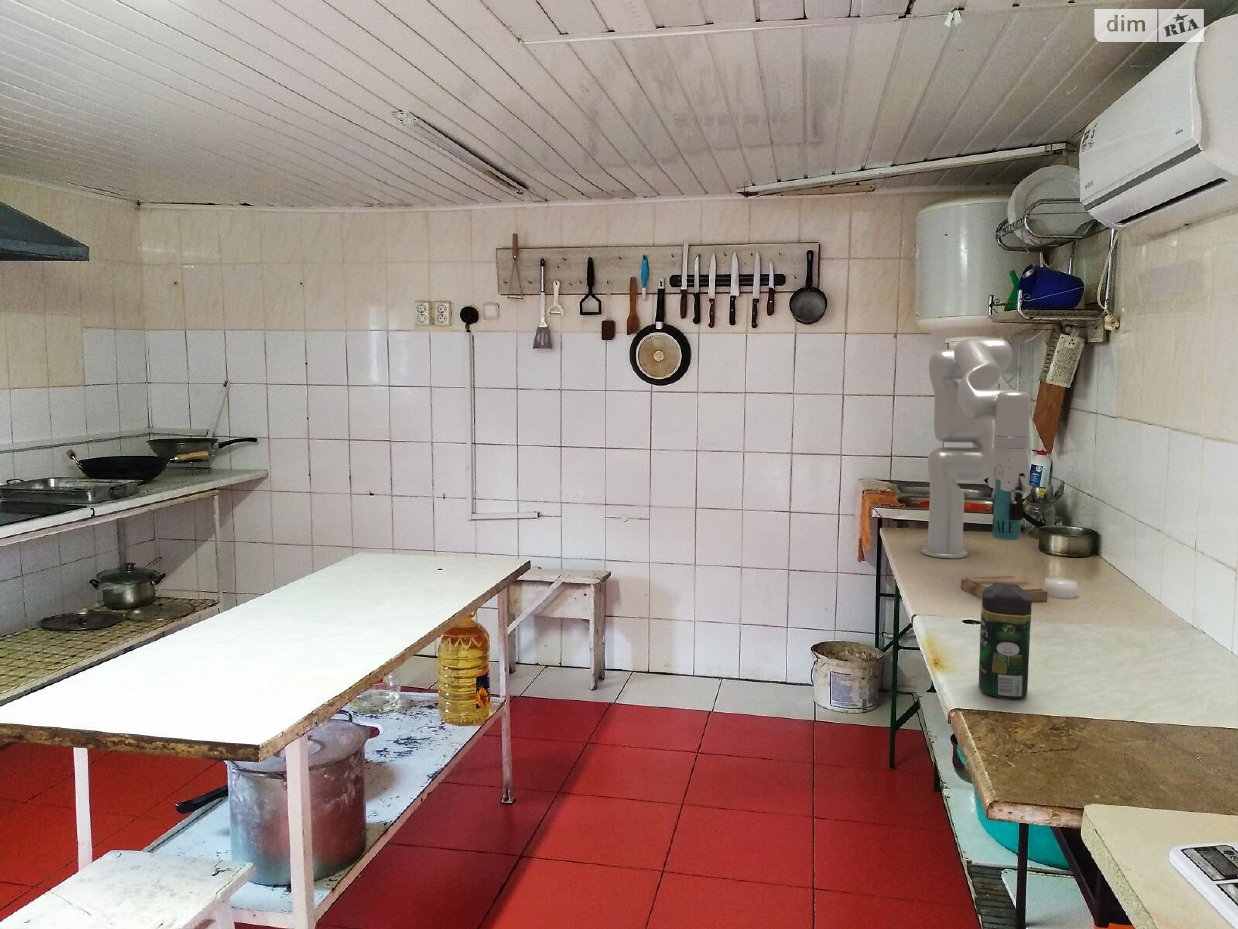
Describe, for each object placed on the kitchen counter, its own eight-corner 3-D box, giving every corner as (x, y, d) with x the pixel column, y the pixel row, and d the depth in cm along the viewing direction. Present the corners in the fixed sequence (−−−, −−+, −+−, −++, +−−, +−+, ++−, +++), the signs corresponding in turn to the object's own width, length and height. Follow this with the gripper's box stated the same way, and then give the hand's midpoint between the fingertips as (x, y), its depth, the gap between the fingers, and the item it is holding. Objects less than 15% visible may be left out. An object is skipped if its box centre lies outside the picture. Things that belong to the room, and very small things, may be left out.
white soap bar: (1038, 591, 219) (1039, 577, 219) (1066, 591, 220) (1067, 577, 219) (1054, 599, 212) (1054, 584, 212) (1082, 599, 213) (1083, 584, 212)
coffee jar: (976, 678, 160) (981, 578, 158) (1024, 683, 158) (1030, 582, 155) (978, 697, 151) (984, 591, 149) (1029, 703, 149) (1035, 596, 146)
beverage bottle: (1014, 541, 217) (1019, 460, 215) (1024, 546, 211) (1029, 463, 208) (987, 540, 218) (991, 459, 215) (996, 546, 211) (1000, 463, 209)
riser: (960, 588, 222) (961, 577, 221) (1012, 586, 224) (1012, 575, 223) (992, 604, 208) (993, 591, 208) (1047, 601, 210) (1047, 589, 210)
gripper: (976, 440, 219) (973, 511, 221) (1018, 447, 202) (1013, 524, 204) (1004, 439, 220) (1000, 510, 222) (1048, 446, 203) (1043, 523, 206)
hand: (1007, 516), depth 213 cm, fingers closed on beverage bottle, 6 cm apart
